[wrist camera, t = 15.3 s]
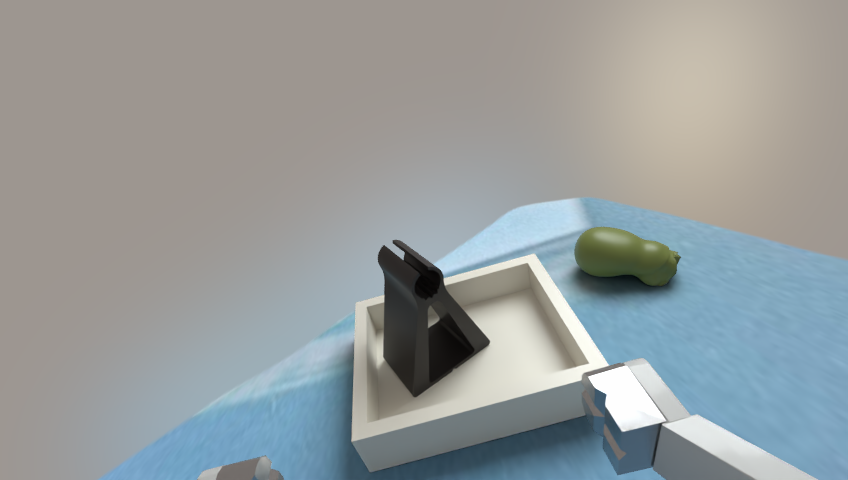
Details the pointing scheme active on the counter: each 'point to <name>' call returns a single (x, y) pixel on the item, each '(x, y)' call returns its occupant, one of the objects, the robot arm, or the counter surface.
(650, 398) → the robot arm
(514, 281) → the tray
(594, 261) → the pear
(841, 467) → the counter surface
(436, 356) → the phone stand
